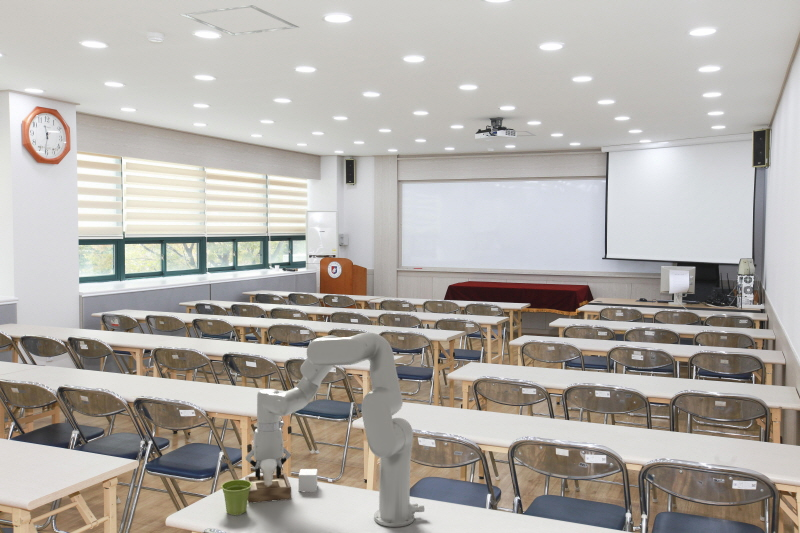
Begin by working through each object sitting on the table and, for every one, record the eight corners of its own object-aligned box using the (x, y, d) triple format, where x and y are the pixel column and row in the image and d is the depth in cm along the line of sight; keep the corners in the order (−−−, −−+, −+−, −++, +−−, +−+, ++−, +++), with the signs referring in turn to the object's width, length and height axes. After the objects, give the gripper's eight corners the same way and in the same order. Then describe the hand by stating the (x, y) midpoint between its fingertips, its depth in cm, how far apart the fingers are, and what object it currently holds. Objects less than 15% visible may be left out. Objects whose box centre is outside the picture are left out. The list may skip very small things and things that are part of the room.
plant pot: (252, 515, 213) (253, 488, 212) (222, 519, 210) (222, 491, 210) (250, 504, 222) (250, 478, 221) (220, 507, 219) (220, 481, 219)
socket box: (285, 484, 240) (285, 473, 240) (291, 499, 227) (291, 487, 227) (245, 487, 236) (245, 476, 236) (248, 503, 223) (248, 491, 222)
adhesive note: (315, 492, 234) (316, 475, 233) (298, 492, 233) (298, 475, 233) (317, 485, 240) (317, 468, 239) (300, 485, 239) (300, 468, 239)
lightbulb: (275, 490, 228) (275, 457, 228) (257, 489, 228) (257, 457, 228) (278, 483, 234) (279, 452, 234) (261, 482, 234) (261, 451, 234)
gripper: (292, 421, 236) (292, 472, 237) (241, 424, 231) (241, 476, 232) (295, 427, 229) (295, 479, 230) (243, 430, 224) (243, 484, 225)
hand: (268, 477), depth 231 cm, fingers closed on lightbulb, 5 cm apart
